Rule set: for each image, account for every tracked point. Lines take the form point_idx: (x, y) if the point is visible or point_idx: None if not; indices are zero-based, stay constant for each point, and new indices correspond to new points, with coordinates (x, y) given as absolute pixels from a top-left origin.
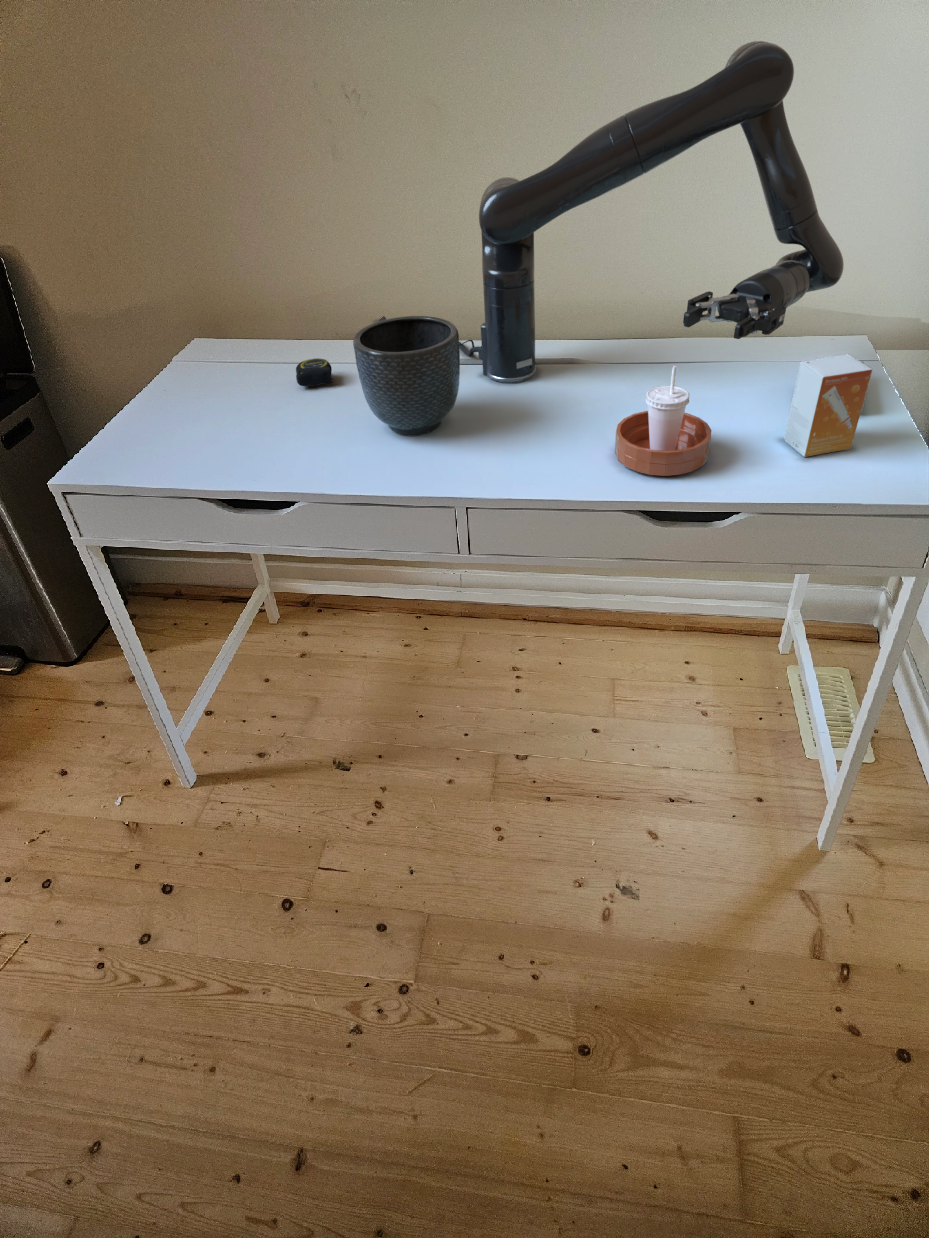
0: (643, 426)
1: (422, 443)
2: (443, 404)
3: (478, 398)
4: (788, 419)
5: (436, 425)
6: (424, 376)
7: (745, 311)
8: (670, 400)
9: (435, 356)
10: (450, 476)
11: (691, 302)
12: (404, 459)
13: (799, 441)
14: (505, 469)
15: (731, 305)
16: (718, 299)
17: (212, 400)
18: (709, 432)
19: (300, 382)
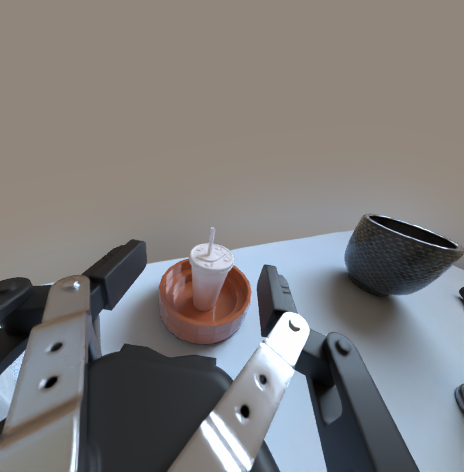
0: (236, 312)
1: (337, 268)
2: (349, 257)
3: (408, 336)
4: (9, 404)
5: (352, 277)
6: (355, 230)
7: (103, 356)
8: (204, 248)
9: (363, 223)
10: (293, 251)
11: (330, 333)
12: (323, 256)
13: (10, 375)
14: (280, 261)
15: (182, 376)
16: (257, 368)
17: (444, 272)
18: (161, 293)
19: (460, 289)
